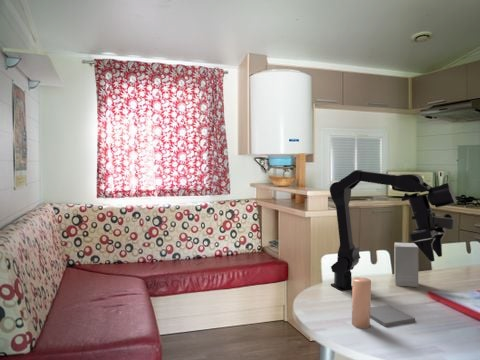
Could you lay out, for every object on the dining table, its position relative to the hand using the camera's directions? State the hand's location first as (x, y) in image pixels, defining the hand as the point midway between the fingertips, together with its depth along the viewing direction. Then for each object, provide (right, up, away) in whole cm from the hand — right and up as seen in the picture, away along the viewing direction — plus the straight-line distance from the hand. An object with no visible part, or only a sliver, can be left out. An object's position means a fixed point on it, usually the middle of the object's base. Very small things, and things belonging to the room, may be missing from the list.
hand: (436, 258), depth 118 cm
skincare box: (+1, -15, +24) cm, 29 cm away
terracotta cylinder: (-28, -16, -11) cm, 34 cm away
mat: (-18, -16, -6) cm, 25 cm away
